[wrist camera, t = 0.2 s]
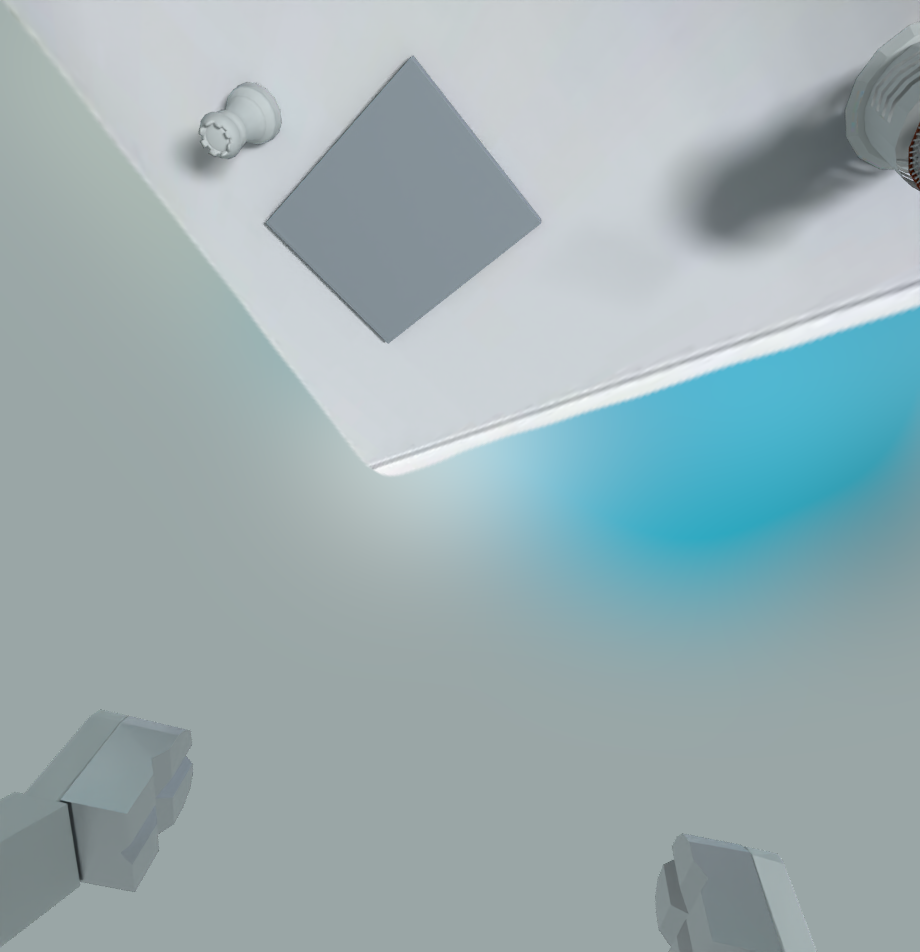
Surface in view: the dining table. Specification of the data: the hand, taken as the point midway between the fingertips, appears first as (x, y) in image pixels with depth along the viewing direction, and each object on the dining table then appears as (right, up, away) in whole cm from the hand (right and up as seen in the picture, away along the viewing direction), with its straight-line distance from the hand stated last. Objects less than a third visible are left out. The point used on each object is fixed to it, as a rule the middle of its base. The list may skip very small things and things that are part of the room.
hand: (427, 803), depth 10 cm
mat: (-5, +29, +47) cm, 55 cm away
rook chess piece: (-16, +36, +43) cm, 58 cm away
